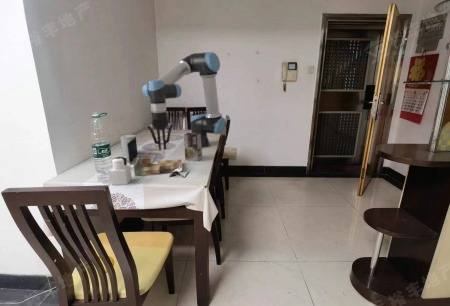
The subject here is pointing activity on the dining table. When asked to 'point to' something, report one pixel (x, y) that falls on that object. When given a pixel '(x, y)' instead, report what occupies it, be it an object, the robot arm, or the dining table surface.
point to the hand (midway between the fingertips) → (163, 155)
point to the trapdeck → (157, 167)
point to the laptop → (135, 152)
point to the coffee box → (193, 146)
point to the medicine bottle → (120, 171)
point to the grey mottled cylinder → (124, 141)
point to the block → (146, 161)
